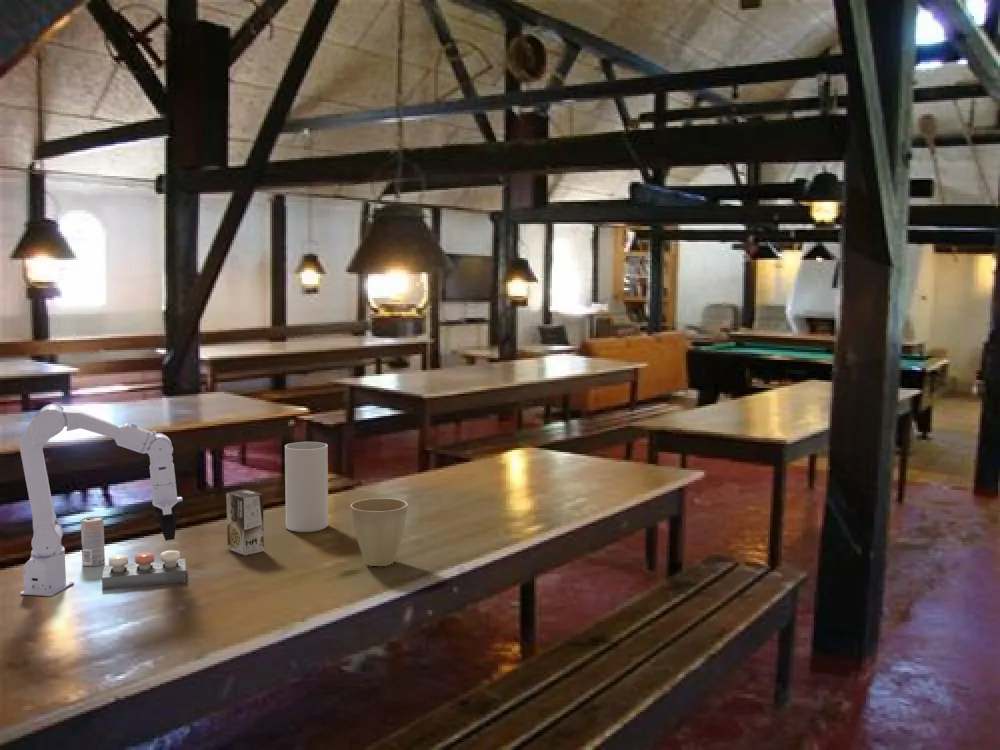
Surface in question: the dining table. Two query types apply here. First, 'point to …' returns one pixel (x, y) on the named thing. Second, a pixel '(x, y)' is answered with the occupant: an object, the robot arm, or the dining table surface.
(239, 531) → the coffee box
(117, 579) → the mount
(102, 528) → the energy drink
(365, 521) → the plant pot
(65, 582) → the robot arm
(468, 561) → the dining table surface
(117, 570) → the near cap
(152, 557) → the middle cap
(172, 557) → the far cap
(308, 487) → the cylinder vase
